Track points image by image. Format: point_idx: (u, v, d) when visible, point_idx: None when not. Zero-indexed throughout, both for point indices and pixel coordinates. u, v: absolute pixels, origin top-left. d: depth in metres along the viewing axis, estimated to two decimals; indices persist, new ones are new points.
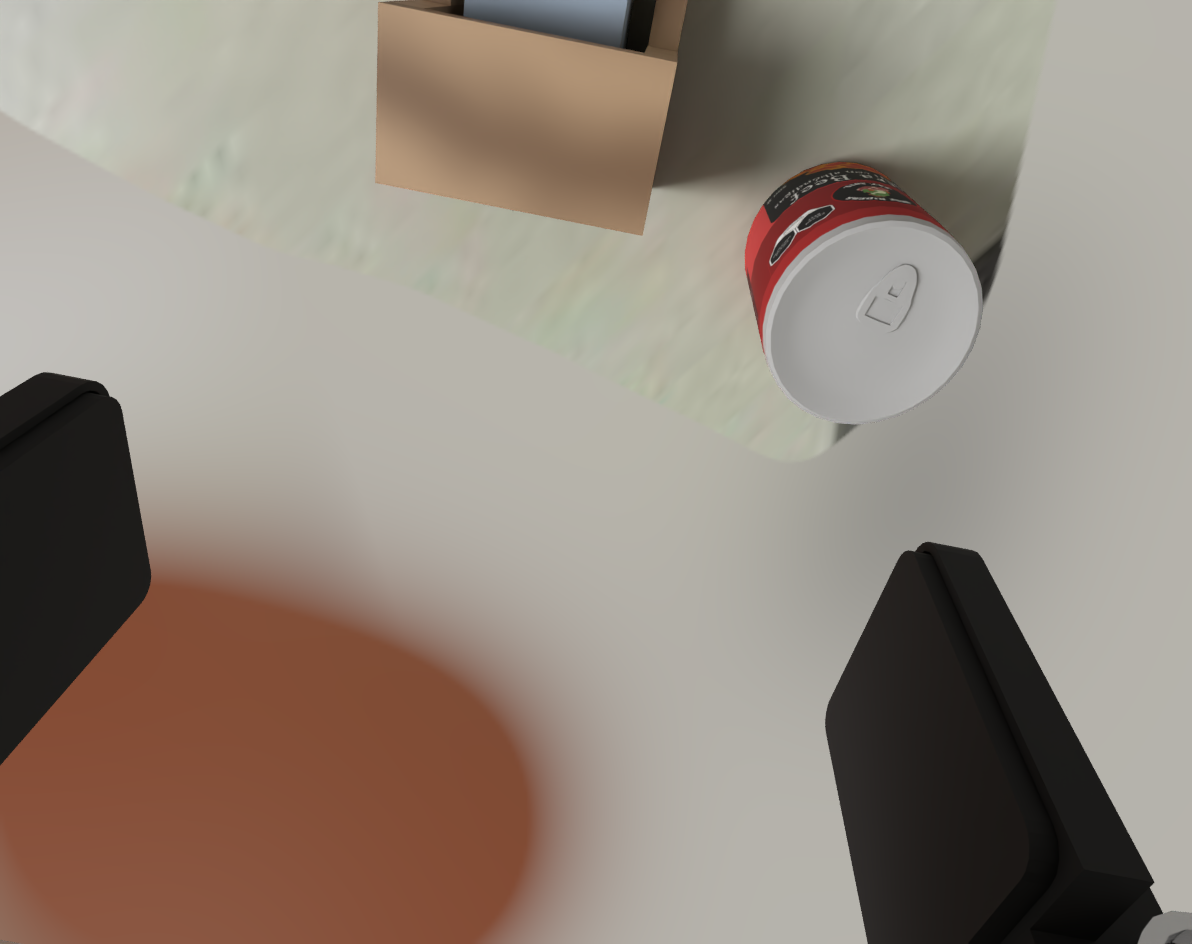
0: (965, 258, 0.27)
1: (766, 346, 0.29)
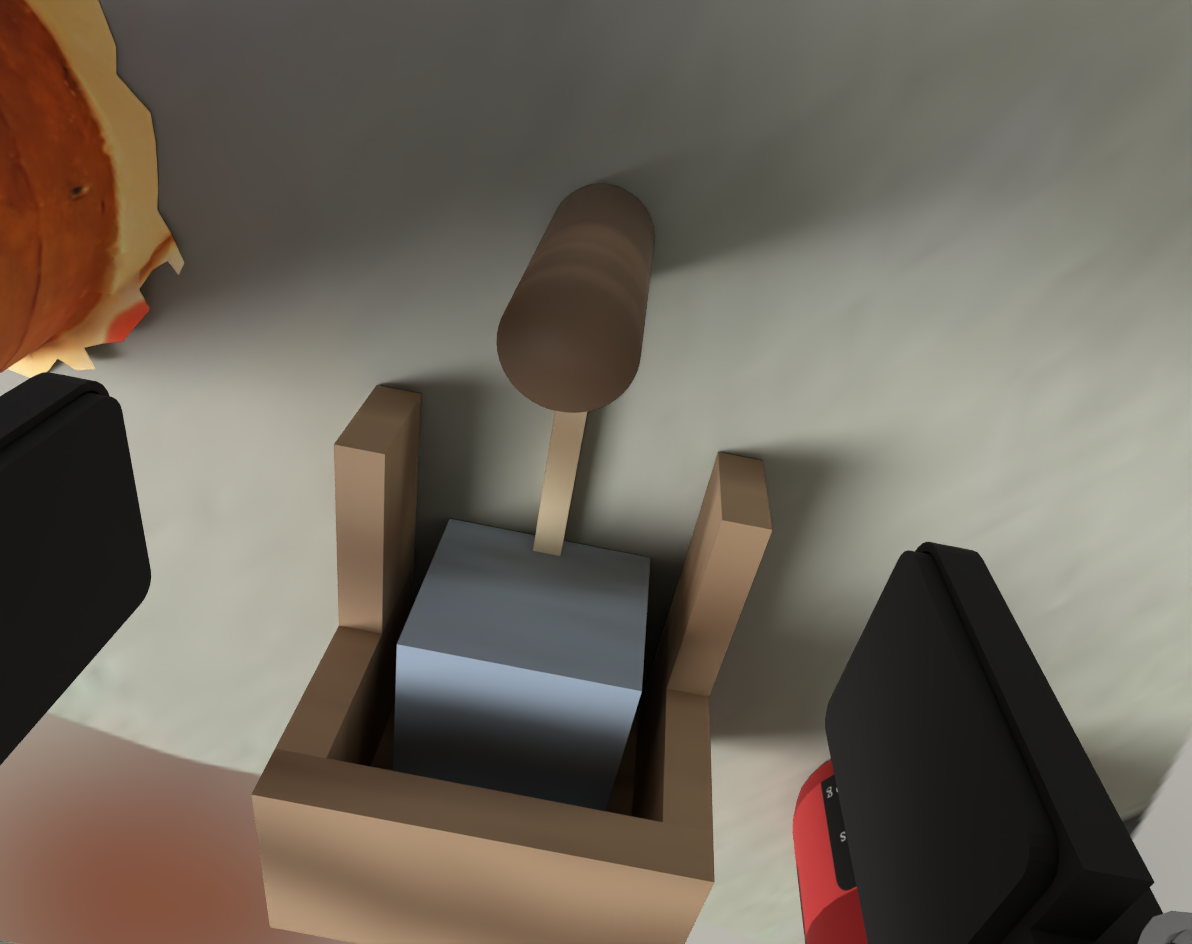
0: None
1: None
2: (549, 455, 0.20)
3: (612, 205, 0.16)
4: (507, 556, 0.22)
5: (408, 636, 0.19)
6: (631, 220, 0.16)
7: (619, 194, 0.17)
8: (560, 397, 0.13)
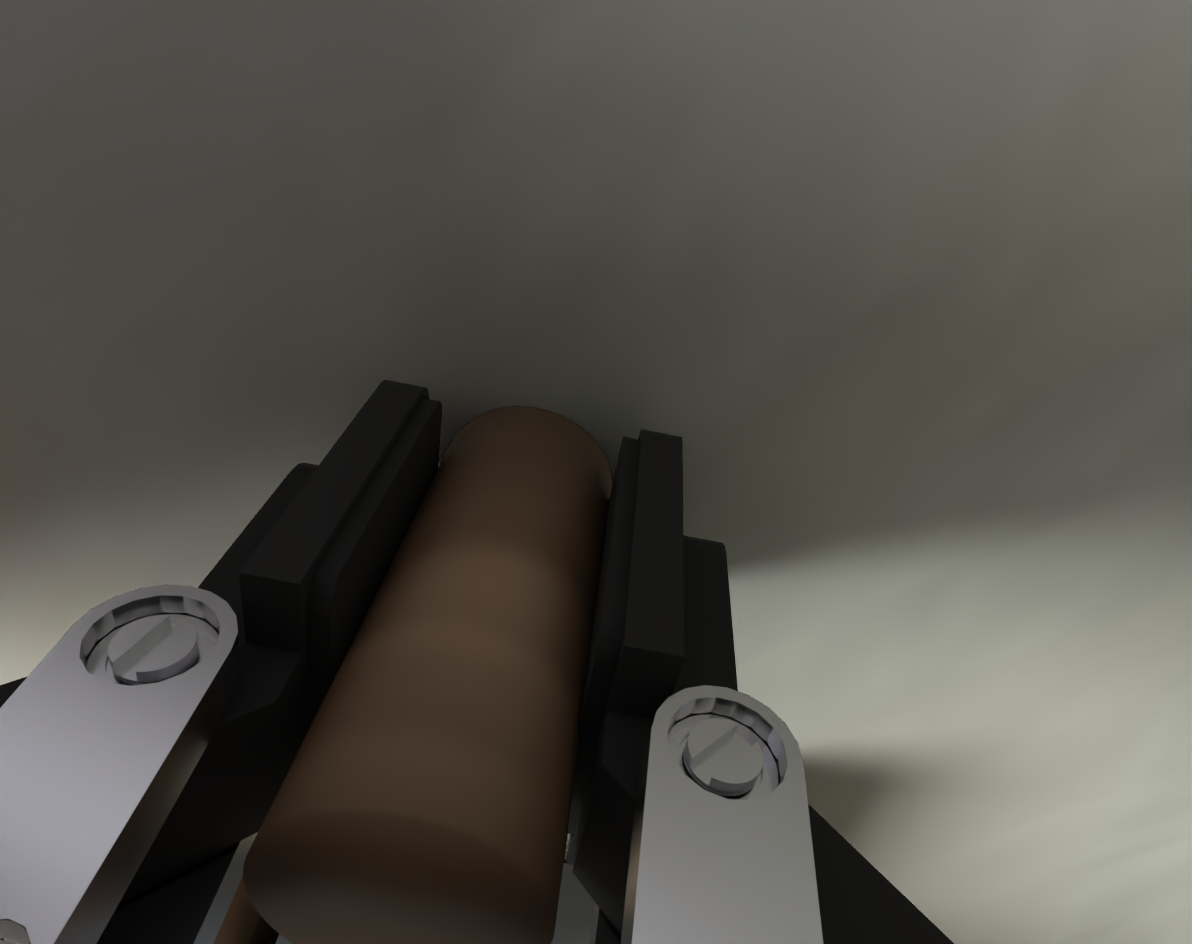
0: None
1: None
2: None
3: (531, 470, 0.09)
4: None
5: None
6: (564, 501, 0.09)
7: (549, 433, 0.10)
8: None
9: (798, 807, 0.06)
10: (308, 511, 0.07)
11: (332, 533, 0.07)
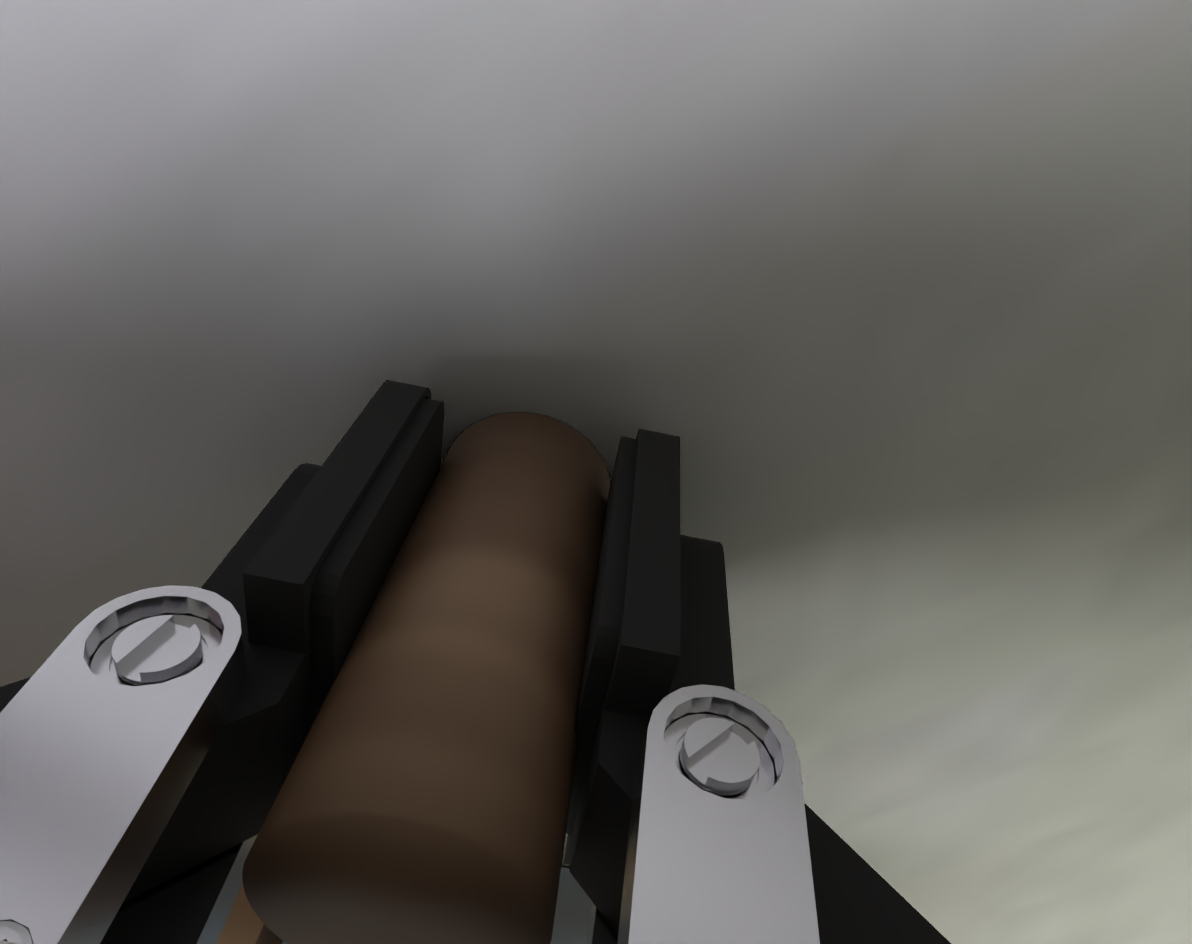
0: None
1: None
2: None
3: (529, 475, 0.09)
4: None
5: None
6: (562, 505, 0.09)
7: (547, 438, 0.10)
8: None
9: (794, 806, 0.06)
10: (311, 511, 0.07)
11: (335, 533, 0.07)
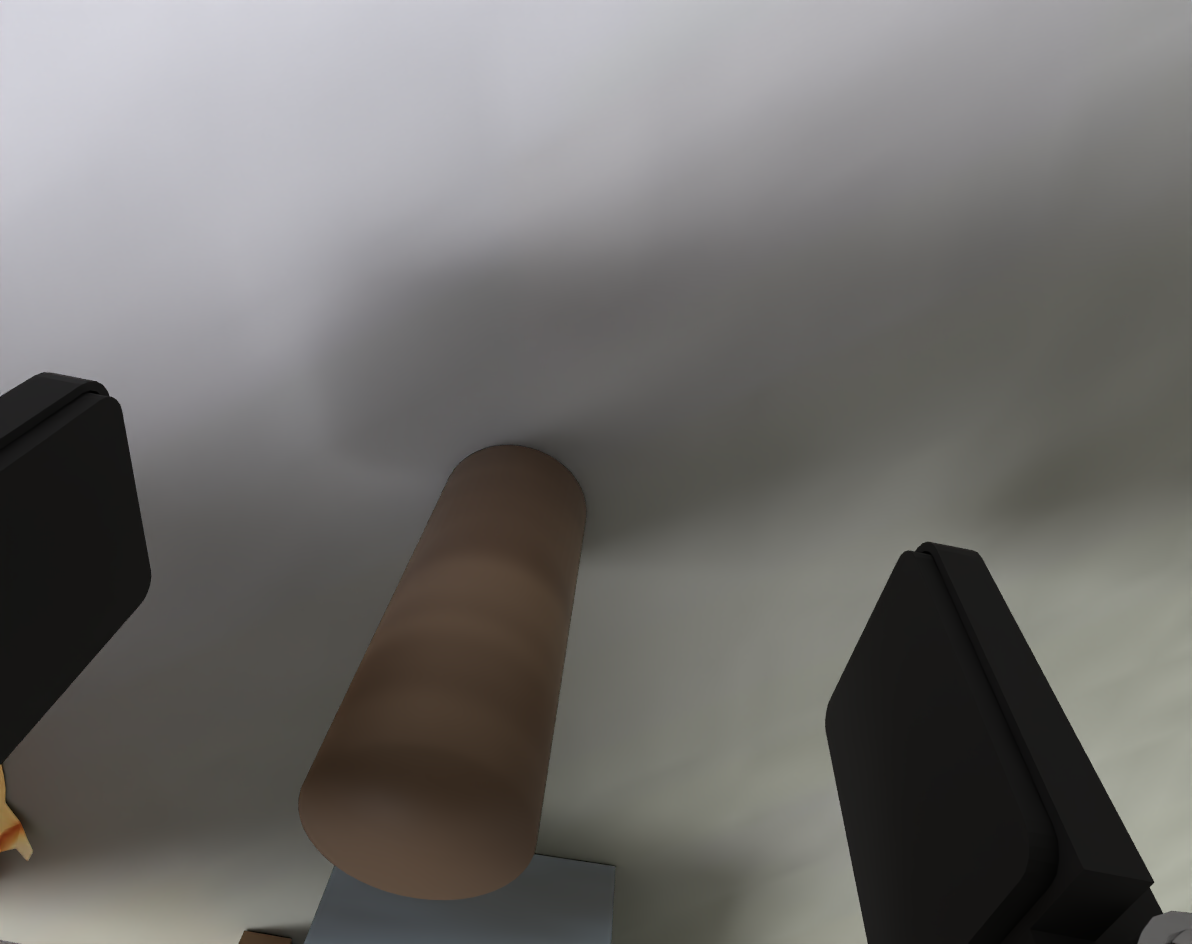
0: None
1: None
2: None
3: (514, 495, 0.11)
4: None
5: None
6: (542, 520, 0.11)
7: (530, 465, 0.12)
8: (415, 882, 0.08)
9: None
10: None
11: None
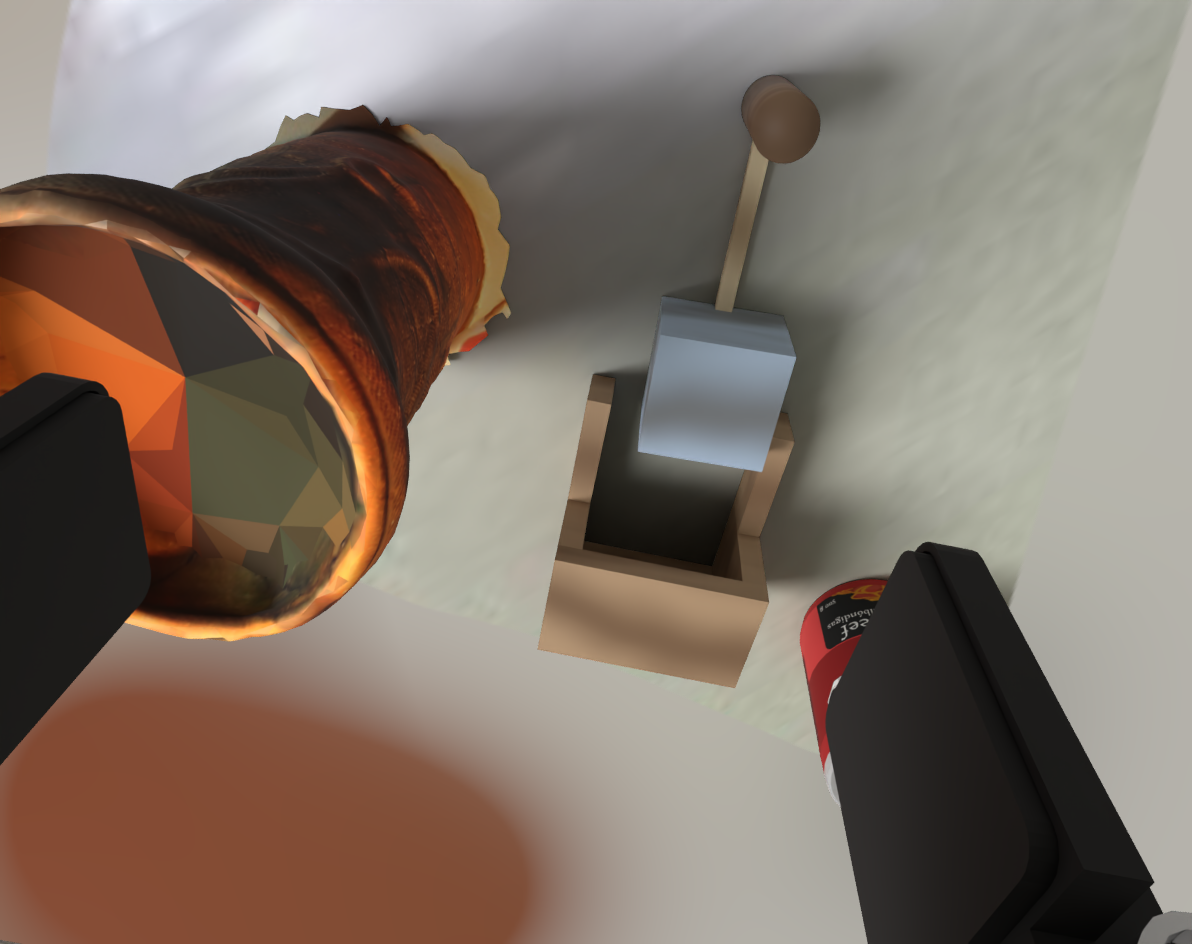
0: None
1: (827, 780, 0.40)
2: (731, 241, 0.36)
3: (784, 79, 0.31)
4: (702, 310, 0.37)
5: (664, 332, 0.34)
6: None
7: (783, 78, 0.32)
8: (779, 155, 0.29)
9: None
10: None
11: None
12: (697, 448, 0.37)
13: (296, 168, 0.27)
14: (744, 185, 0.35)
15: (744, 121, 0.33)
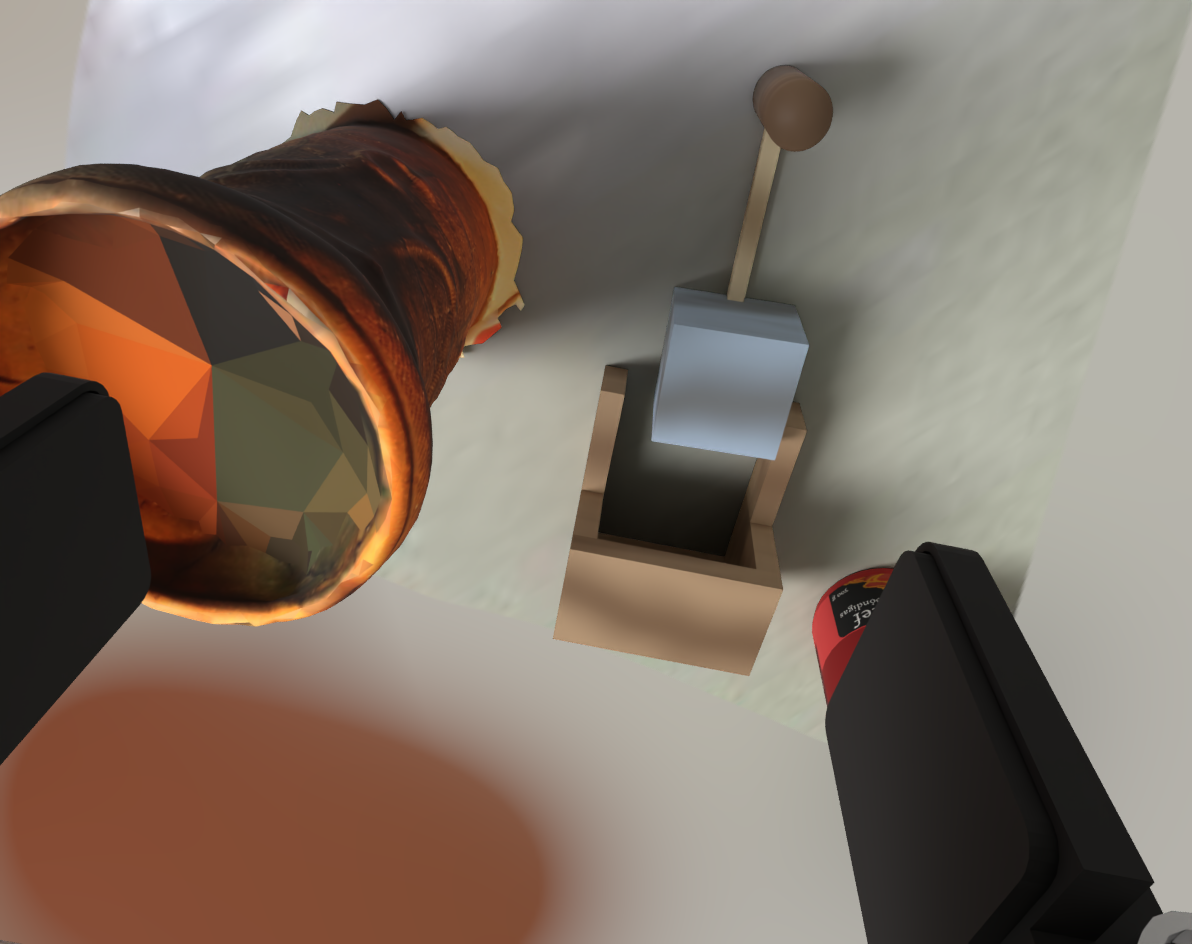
0: None
1: None
2: (743, 231, 0.36)
3: (796, 69, 0.32)
4: (714, 300, 0.38)
5: (678, 322, 0.35)
6: None
7: (795, 68, 0.33)
8: (792, 143, 0.29)
9: None
10: None
11: None
12: (710, 437, 0.37)
13: (316, 160, 0.27)
14: (756, 175, 0.35)
15: (756, 111, 0.33)
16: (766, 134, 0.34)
